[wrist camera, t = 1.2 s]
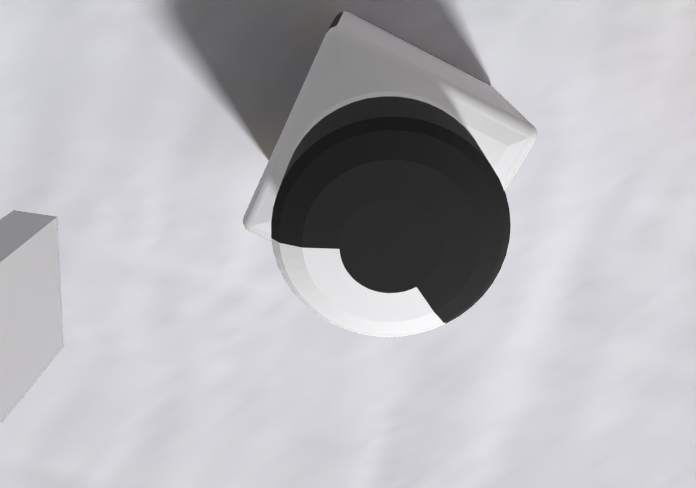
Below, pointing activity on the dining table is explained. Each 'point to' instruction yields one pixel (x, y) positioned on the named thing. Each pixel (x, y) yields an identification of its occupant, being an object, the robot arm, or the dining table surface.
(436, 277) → the medicine bottle
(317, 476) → the dining table surface
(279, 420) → the dining table surface
